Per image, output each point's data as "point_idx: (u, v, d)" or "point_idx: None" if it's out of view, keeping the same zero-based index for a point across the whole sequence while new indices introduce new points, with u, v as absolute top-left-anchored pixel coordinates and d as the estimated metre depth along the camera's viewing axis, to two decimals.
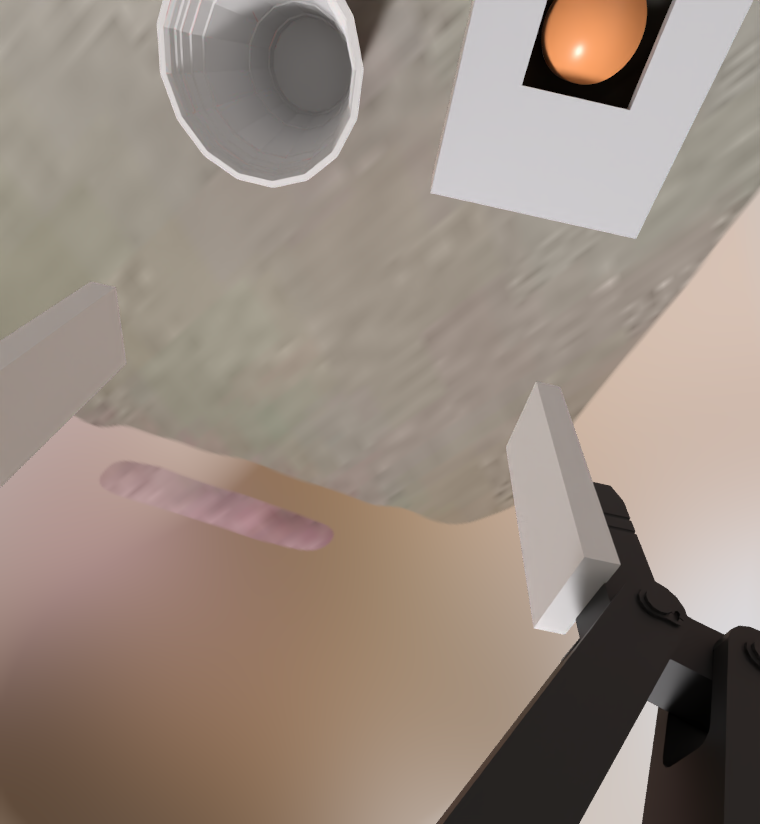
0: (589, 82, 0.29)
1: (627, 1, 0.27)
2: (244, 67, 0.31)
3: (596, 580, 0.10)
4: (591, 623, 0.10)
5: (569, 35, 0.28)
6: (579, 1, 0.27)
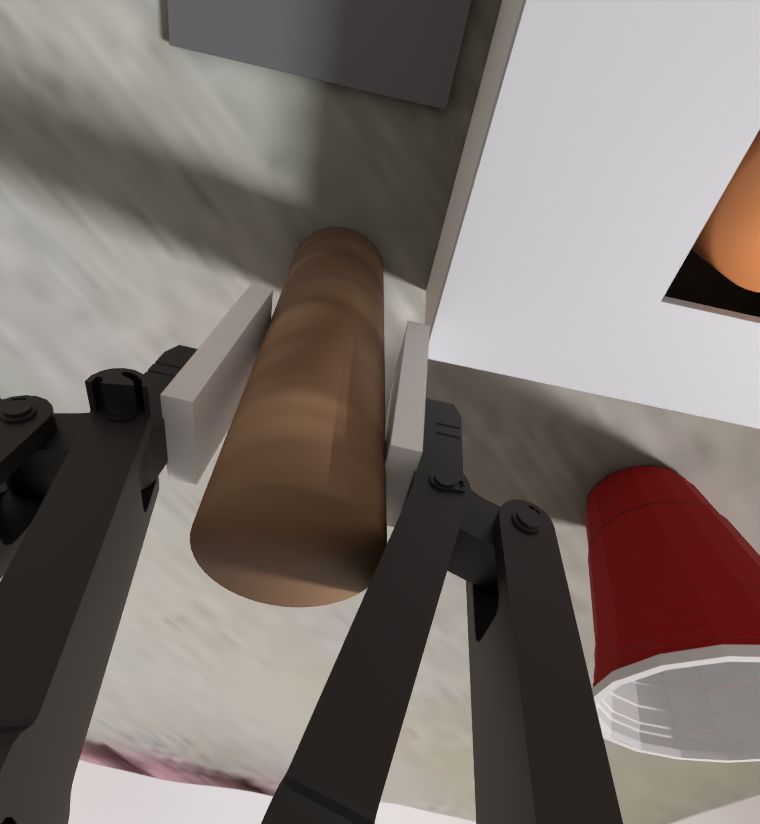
0: None
1: None
2: None
3: (407, 468, 0.12)
4: None
5: None
6: (750, 249, 0.16)
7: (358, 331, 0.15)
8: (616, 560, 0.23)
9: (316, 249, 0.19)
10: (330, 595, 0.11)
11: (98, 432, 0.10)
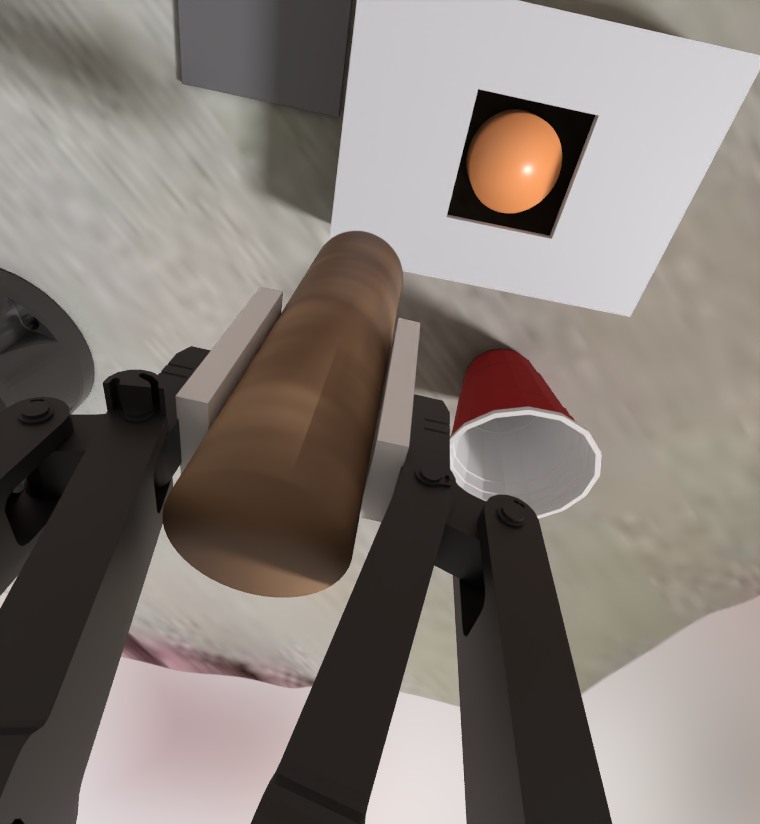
0: (560, 162, 0.28)
1: (497, 139, 0.28)
2: (497, 438, 0.42)
3: (394, 463, 0.12)
4: None
5: (516, 192, 0.29)
6: (491, 188, 0.29)
7: (358, 331, 0.15)
8: (465, 396, 0.37)
9: (333, 250, 0.19)
10: (299, 587, 0.11)
11: (114, 433, 0.10)
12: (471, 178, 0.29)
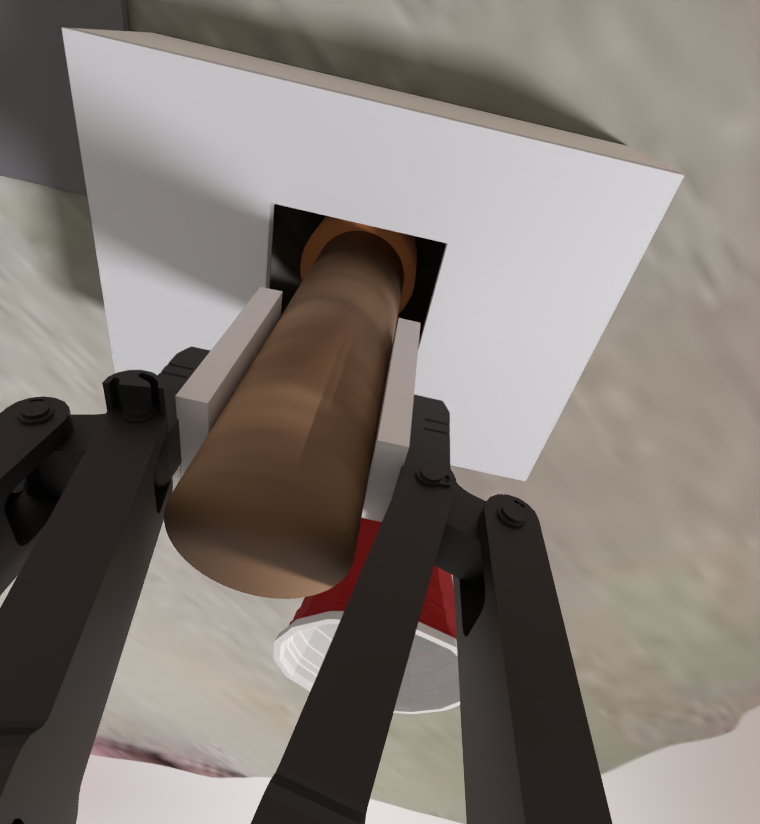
0: (412, 273, 0.22)
1: None
2: None
3: (394, 464, 0.12)
4: None
5: None
6: None
7: (360, 331, 0.15)
8: None
9: (335, 250, 0.19)
10: (301, 589, 0.11)
11: (114, 433, 0.10)
12: None
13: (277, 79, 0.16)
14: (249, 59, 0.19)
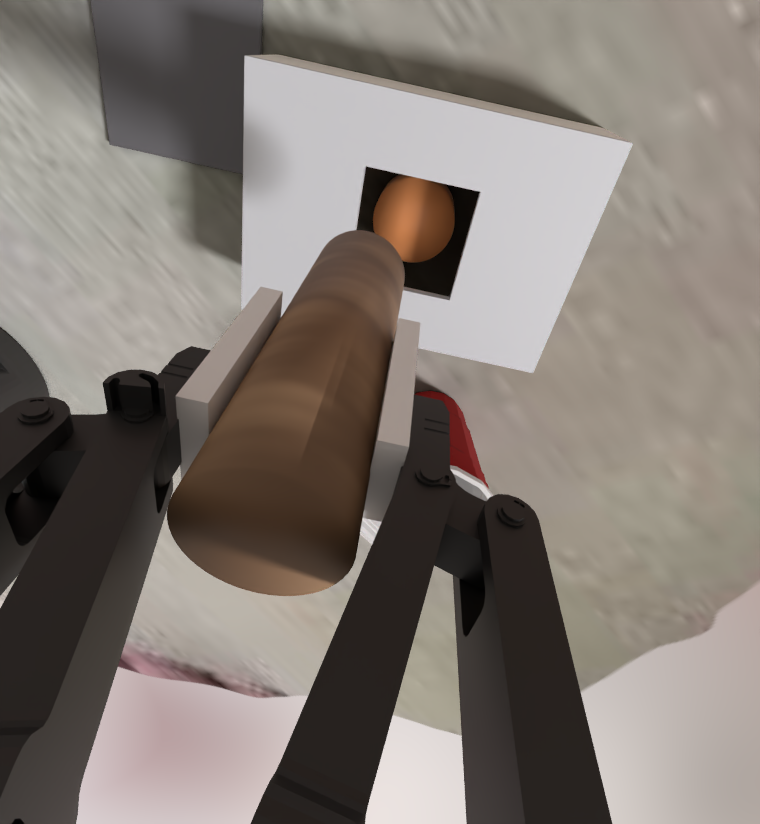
0: (453, 220, 0.31)
1: (395, 199, 0.31)
2: None
3: (394, 463, 0.12)
4: None
5: (417, 244, 0.33)
6: (394, 240, 0.33)
7: (362, 330, 0.15)
8: None
9: (336, 250, 0.19)
10: (303, 586, 0.11)
11: (114, 433, 0.10)
12: (375, 231, 0.32)
13: (376, 85, 0.25)
14: (347, 72, 0.28)
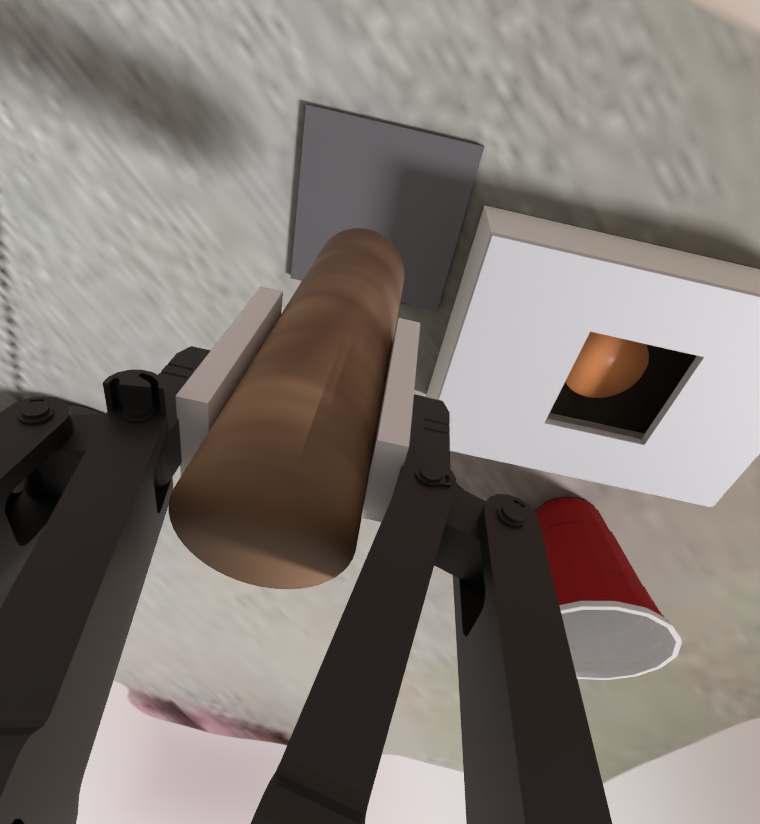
0: (646, 363, 0.31)
1: (591, 344, 0.31)
2: None
3: (394, 463, 0.12)
4: None
5: (603, 382, 0.33)
6: (580, 378, 0.33)
7: (361, 326, 0.15)
8: None
9: (336, 247, 0.19)
10: (303, 579, 0.11)
11: (114, 433, 0.10)
12: None
13: (623, 265, 0.25)
14: (562, 230, 0.28)
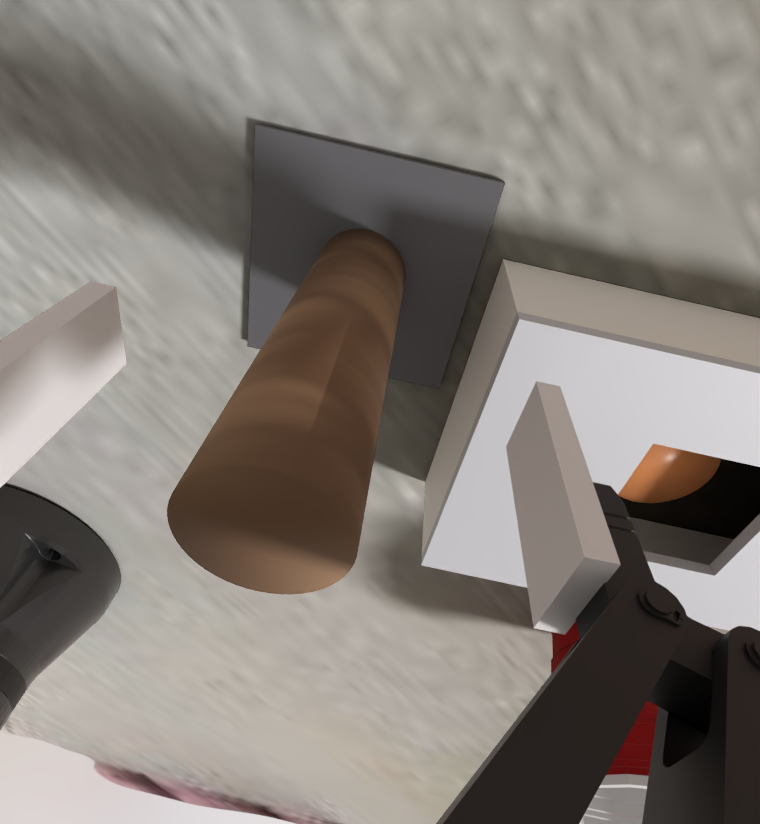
0: (717, 465, 0.24)
1: None
2: None
3: (596, 580, 0.10)
4: (591, 623, 0.10)
5: (657, 486, 0.25)
6: (627, 481, 0.25)
7: (362, 328, 0.15)
8: None
9: (336, 248, 0.19)
10: (304, 584, 0.11)
11: None
12: None
13: (709, 362, 0.17)
14: (612, 297, 0.20)
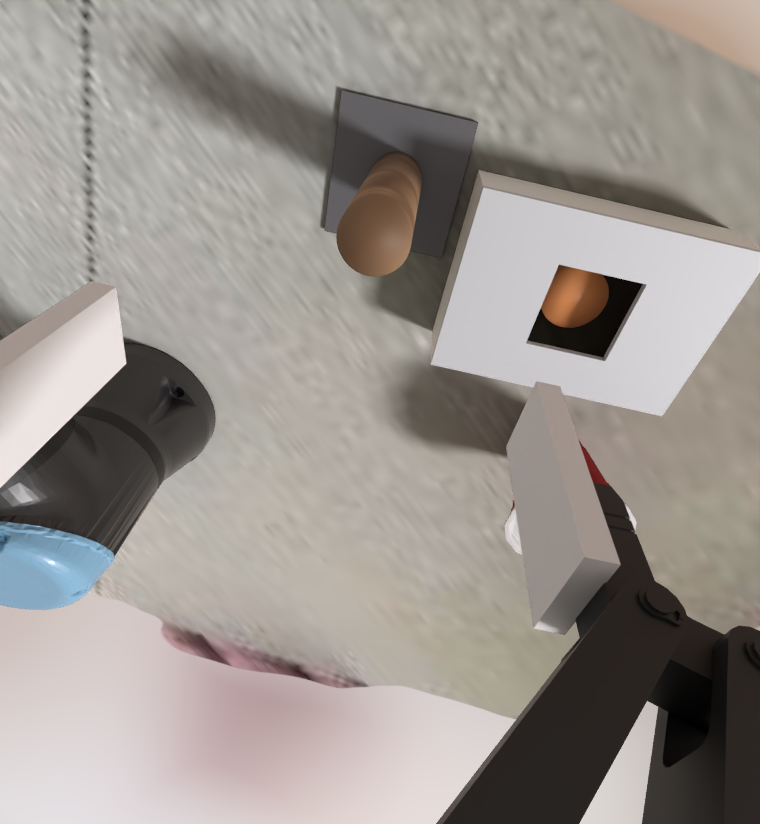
0: (607, 297, 0.40)
1: (563, 281, 0.39)
2: None
3: (596, 580, 0.10)
4: (591, 623, 0.10)
5: (573, 314, 0.41)
6: (555, 311, 0.41)
7: (405, 181, 0.31)
8: None
9: (385, 158, 0.35)
10: (387, 268, 0.27)
11: None
12: None
13: (581, 210, 0.33)
14: (539, 188, 0.37)
